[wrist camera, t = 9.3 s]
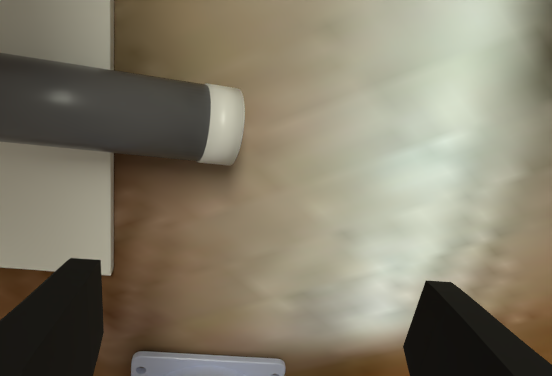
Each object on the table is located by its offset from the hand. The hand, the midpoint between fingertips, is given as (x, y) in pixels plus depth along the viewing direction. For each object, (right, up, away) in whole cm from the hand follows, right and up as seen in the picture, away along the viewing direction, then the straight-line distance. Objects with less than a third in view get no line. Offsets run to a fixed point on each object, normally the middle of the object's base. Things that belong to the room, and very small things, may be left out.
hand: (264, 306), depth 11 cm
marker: (-11, +6, +4) cm, 13 cm away
